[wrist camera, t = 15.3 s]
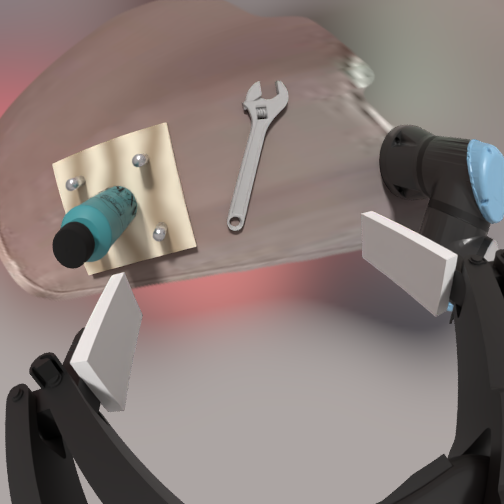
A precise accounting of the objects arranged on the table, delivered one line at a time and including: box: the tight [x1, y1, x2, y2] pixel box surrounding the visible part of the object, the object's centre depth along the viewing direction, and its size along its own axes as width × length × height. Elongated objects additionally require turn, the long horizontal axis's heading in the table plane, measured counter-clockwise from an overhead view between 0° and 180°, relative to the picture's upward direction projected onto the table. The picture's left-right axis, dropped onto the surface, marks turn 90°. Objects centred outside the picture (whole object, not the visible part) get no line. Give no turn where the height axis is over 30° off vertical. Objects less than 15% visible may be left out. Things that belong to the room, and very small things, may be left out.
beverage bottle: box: [53, 185, 138, 268], centre depth 30 cm, size 6×7×20 cm
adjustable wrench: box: [227, 81, 288, 231], centre depth 41 cm, size 25×6×2 cm, turn 161°
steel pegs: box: [65, 153, 167, 242], centre depth 37 cm, size 13×13×4 cm
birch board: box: [52, 123, 196, 275], centre depth 39 cm, size 20×20×2 cm
